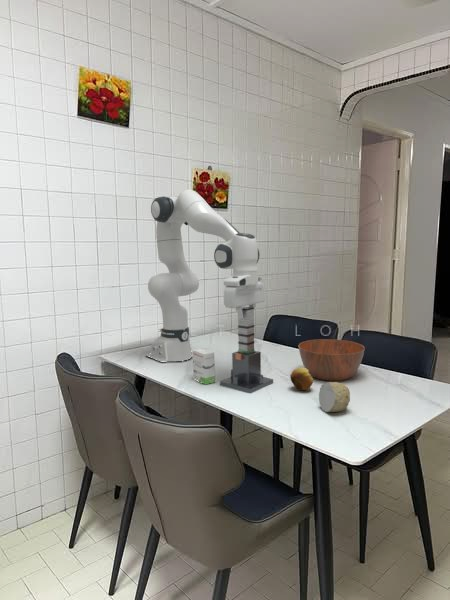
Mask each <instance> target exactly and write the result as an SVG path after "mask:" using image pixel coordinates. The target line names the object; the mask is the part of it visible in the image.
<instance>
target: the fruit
mask: <svg viewBox="0 0 450 600" xmlns="http://www.w3.org/2000/svg"><path fill="white" fill-rule="evenodd" d="M289 378H290V381H291V383H292V385H293V386H294V387H295V388H296V389H298V390H299V391H300V392H301V391H302V392H304V391H307V390H309V389H310V388H311V387H312V385H313V383H314V377H313V376H311V375H310V374H309V371H308V369H306V368H305V367H303V366H301V367H297V368H295V369H294V370H293V371H292V372H291V374H290V377H289Z"/></svg>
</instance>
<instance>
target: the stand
mask: <svg viewBox="0 0 450 600" xmlns="http://www.w3.org/2000/svg"><path fill="white" fill-rule="evenodd" d="M261 354H262V353H261V351H257V350H254V353H253V354H250V355H244V354H240V353H239V352H238V350H237V351H234V352H232V353H231V361H232V364H231V365H232V366H231V367H232V369H230V377H227V378H225V379H223V380H220V381H219V386H221V385H222V386H221V387H226V388H228V389H233V390H237V391H240V392H244V393H248V394H252V393H254V392H256V391H259V390H261V389H263V388H265V387H268V386H270V385H273V384H274V379H273V378H270V377H266V376H264V375H263V374H262V369H261V368H262V366H261V365H262V363H261V359H262V357H261Z"/></svg>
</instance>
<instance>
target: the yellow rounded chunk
mask: <svg viewBox="0 0 450 600" xmlns="http://www.w3.org/2000/svg"><path fill="white" fill-rule="evenodd" d="M318 400H319V405H320V408H321V410H322V412H325V413H335V412H336V413H337V412H342V411H344V410H346V409H347V408H348V406H349V403H350V402H351V393H350V389H349V388H348V386H346V385H345V384H344V383H341V382H339V381H329V382H328V381H327V382H324V383H322V385H320V387H319V393H318Z"/></svg>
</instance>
